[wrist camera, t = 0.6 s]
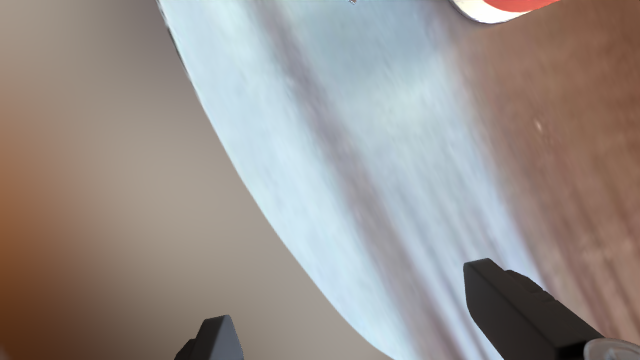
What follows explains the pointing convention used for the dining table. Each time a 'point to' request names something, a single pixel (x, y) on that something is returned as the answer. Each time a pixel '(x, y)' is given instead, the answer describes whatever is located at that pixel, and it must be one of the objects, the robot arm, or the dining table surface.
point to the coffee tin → (496, 9)
